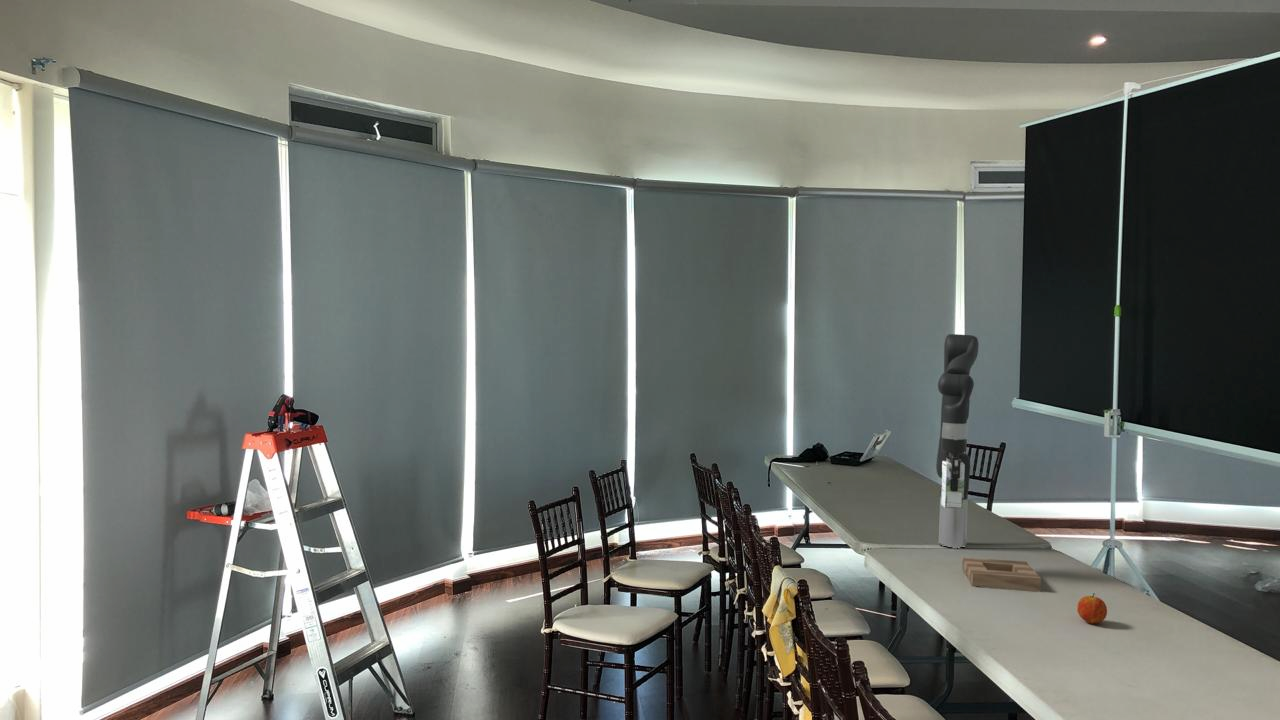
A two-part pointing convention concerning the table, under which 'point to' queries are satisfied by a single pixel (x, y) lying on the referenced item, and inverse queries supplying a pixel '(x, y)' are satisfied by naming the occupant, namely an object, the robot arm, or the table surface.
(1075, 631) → the table surface
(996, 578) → the socket block
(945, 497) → the syrup box
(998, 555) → the table surface
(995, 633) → the table surface
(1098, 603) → the fruit
